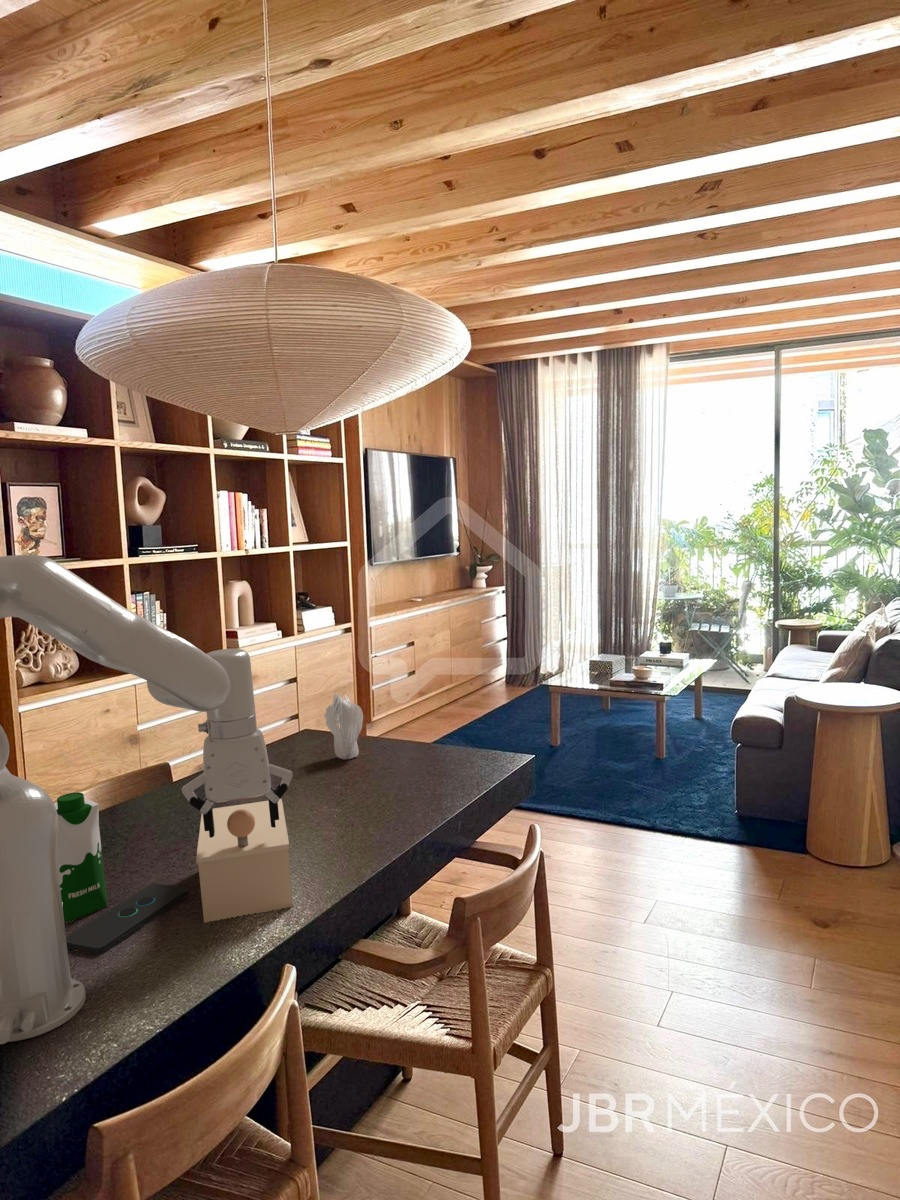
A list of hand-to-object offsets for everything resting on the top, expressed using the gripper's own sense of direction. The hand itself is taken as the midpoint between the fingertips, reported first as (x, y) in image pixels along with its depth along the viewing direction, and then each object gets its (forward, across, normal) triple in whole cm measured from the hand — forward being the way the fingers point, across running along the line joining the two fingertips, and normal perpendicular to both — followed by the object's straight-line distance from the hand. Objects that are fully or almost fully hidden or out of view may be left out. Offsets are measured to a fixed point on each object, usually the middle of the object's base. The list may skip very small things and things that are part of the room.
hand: (242, 829), depth 131 cm
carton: (+14, 0, +9) cm, 16 cm away
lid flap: (+3, 0, +9) cm, 9 cm away
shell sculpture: (+14, +26, +77) cm, 82 cm away
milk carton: (+14, -28, +11) cm, 33 cm away
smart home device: (+14, -19, +4) cm, 24 cm away
